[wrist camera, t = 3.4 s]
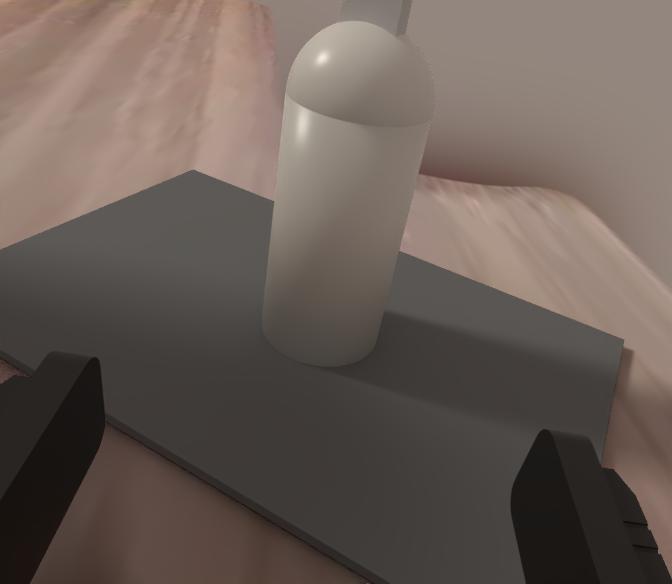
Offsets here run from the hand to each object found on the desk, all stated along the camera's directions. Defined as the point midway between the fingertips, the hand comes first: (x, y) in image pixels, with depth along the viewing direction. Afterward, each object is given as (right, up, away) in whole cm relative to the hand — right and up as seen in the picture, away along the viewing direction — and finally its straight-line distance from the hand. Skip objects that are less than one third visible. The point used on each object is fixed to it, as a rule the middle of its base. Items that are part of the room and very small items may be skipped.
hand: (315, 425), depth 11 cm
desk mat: (-1, +1, +13) cm, 13 cm away
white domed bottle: (0, +1, +12) cm, 12 cm away
